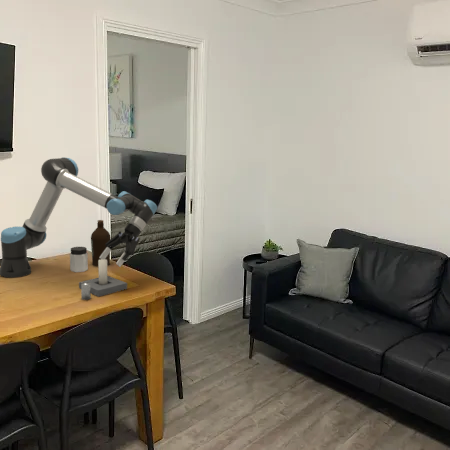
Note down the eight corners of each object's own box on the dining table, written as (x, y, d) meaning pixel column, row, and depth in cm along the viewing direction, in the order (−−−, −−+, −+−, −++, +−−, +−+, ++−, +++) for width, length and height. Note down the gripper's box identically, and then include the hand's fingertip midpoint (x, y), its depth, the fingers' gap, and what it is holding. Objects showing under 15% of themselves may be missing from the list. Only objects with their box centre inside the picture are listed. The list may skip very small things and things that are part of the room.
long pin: (97, 288, 228) (96, 260, 225) (104, 286, 231) (103, 258, 228) (102, 290, 225) (101, 261, 223) (109, 288, 228) (108, 260, 226)
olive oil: (112, 261, 274) (111, 218, 269) (109, 267, 264) (108, 222, 259) (93, 261, 273) (92, 218, 268) (89, 266, 263) (88, 222, 258)
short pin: (79, 298, 214) (79, 283, 213) (87, 296, 217) (87, 281, 216) (84, 300, 212) (84, 285, 210) (92, 298, 215) (92, 283, 213)
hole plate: (79, 288, 227) (78, 282, 227) (107, 281, 239) (107, 275, 239) (98, 296, 217) (98, 290, 216) (127, 289, 229) (127, 283, 228)
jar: (82, 273, 251) (81, 251, 249) (67, 271, 252) (67, 249, 250) (90, 268, 260) (89, 247, 257) (76, 267, 261) (75, 245, 259)
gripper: (155, 236, 230) (130, 272, 222) (124, 227, 246) (99, 261, 238) (146, 226, 225) (120, 263, 217) (115, 218, 241) (89, 252, 233)
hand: (109, 262), depth 228 cm, fingers open, 13 cm apart
